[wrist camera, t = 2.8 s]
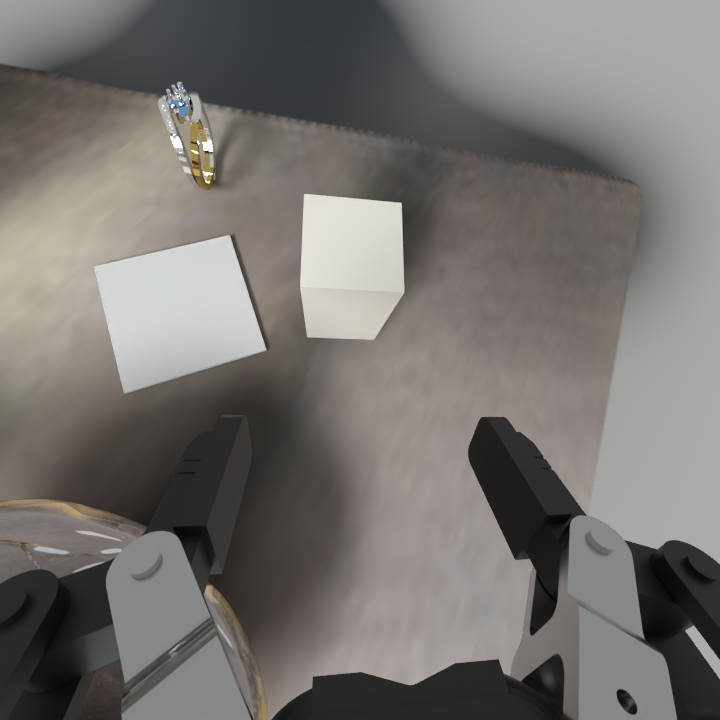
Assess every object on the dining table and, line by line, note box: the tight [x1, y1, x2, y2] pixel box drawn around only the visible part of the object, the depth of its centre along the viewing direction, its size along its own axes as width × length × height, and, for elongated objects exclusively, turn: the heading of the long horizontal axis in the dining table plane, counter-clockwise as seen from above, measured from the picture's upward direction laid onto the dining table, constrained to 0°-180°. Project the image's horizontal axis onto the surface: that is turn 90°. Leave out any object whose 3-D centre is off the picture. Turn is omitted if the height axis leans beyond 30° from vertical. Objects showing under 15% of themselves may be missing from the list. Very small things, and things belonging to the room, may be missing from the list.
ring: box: [158, 82, 216, 190], centre depth 27 cm, size 7×3×8 cm, turn 178°
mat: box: [94, 235, 267, 394], centre depth 28 cm, size 12×12×1 cm
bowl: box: [0, 499, 267, 720], centre depth 18 cm, size 25×25×10 cm
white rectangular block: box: [300, 194, 404, 340], centre depth 25 cm, size 6×6×11 cm
